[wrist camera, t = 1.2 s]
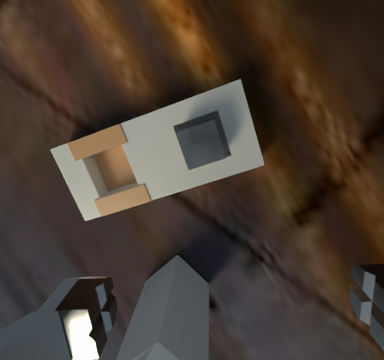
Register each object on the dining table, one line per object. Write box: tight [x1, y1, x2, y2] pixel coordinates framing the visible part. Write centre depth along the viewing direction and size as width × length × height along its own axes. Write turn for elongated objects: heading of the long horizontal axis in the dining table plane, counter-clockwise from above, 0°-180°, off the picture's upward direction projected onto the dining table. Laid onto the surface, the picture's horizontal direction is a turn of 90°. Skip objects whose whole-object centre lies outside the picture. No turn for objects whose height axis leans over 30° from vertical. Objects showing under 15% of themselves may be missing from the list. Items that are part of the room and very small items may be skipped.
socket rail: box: [51, 79, 264, 221], centre depth 32 cm, size 24×10×4 cm, turn 109°
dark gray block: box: [176, 118, 226, 170], centre depth 29 cm, size 4×4×7 cm
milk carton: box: [116, 255, 209, 360], centre depth 30 cm, size 7×7×19 cm
